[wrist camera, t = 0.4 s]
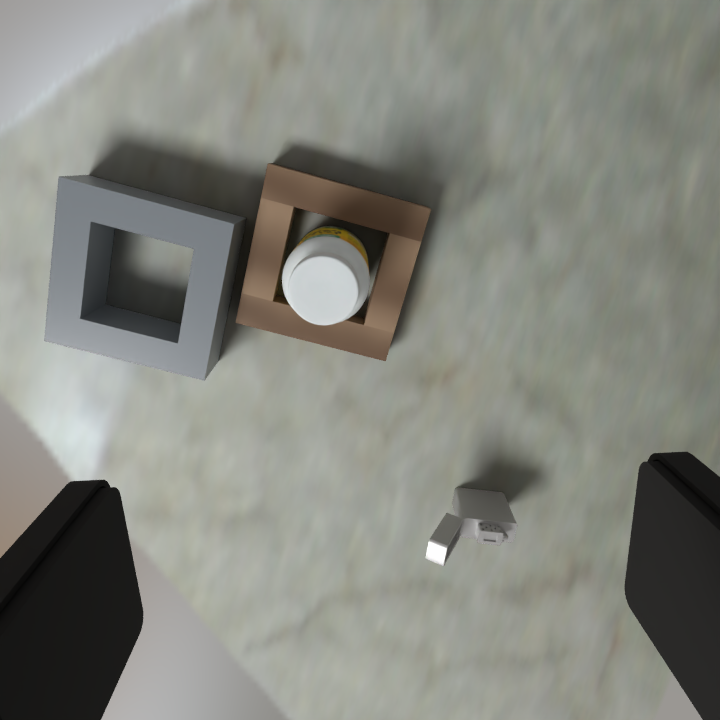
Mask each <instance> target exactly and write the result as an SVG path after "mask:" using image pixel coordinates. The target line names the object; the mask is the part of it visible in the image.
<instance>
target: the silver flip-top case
mask: <svg viewBox="0 0 720 720" xmlns="http://www.w3.org/2000/svg"><path fill="white" fill-rule="evenodd" d="M452 505H453V509H454V513H455V516H454V515H451V514H449V513H446V515H445V516H444V518H443V519H442V521H441V522H440V524H439V526H438V527H437V529H436V530H435V532H434V533H433V535H432V536H431V538H430V540H429V544H428V549H427V554H426V559H427V560H430V561H432V562H435V563H437V564H440V565H442V566H444V565H445V563H446V561H447V559H448V558H449V556H450V554H451V552H452V550H453V549H454V547H455V545H456V543H457V542H458V540H459V538H460V536H461V537H464V538H473V539H477V542H478V543H482V544H491V545H501V543H502V542H510V543H511V542H513V541H514V537H515V533H516V529H517V523H516V521H515V519H514V516H513V514H512V511H511V509H510V507H509V504H508V502H507V499H506V497H505V495H504V493H503V492H496V491H487V490H478V489H469V488H460V487H457V488H455V491H454V496H453V501H452Z"/></svg>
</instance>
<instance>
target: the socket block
mask: <svg viewBox="0 0 720 720" xmlns="http://www.w3.org/2000/svg"><path fill="white" fill-rule="evenodd" d="M245 223H246V218H245V217H241V216H237V215H234V214H230V213H226V212H223V211H219V210H215V209H212V208H208V207H204V206H201V205H197V204H193V203H190V202H186V201H182V200H179V199H175V198H171V197H167V196H164V195H160V194H156V193H153V192H149V191H145V190H142V189H138V188H134V187H131V186H127V185H123V184H120V183H116V182H112V181H109V180H105V179H101V178H98V177H94V176H90V175H79V176H61V177H59V179H58V191H57V202H56V213H55V225H54V236H53V247H52V259H51V270H50V281H49V293H48V304H47V315H46V327H45V338H44V341H46V342H50V343H54V344H58V345H62V346H66V347H70V348H74V349H79V350H83V351H87V352H91V353H95V354H99V355H103V356H107V357H111V358H115V359H119V360H123V361H127V362H131V363H135V364H139V365H143V366H147V367H151V368H155V369H159V370H164V371H168V372H172V373H176V374H180V375H184V376H188V377H192V378H196V379H200V380H205V379H206V378H207V376H208V375H209V373H210V372H211V371H212V369H213V368H214V367H215V365H216V364H217V362H218V360H219V355H220V350H221V345H222V340H223V335H224V330H225V325H226V320H227V314H228V309H229V304H230V299H231V294H232V289H233V284H234V279H235V274H236V269H237V264H238V259H239V254H240V248H241V243H242V238H243V233H244V228H245ZM115 228H117V229H121V230H125V231H129V232H133V233H136V234H140V235H144V236H148V237H151V238H155V239H159V240H163V241H166V242H170V243H174V244H178V245H182V246H185V247H189V248H193V249H194V252H193V258H192V263H191V269H190V275H189V281H188V287H187V293H186V299H185V305H184V310H183V316H182V322H181V324H180V323H176V322H172V321H168V320H164V319H160V318H156V317H152V316H148V315H144V314H141V313H137V312H133V311H129V310H125V309H121V308H117V307H113V306H109V305H106V298H107V290H108V282H109V273H110V265H111V257H112V249H113V241H114V233H115Z"/></svg>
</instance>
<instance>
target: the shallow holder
mask: <svg viewBox="0 0 720 720" xmlns="http://www.w3.org/2000/svg"><path fill="white" fill-rule="evenodd" d="M296 208H300V209H304V210H307V211H311V212H314V213H318V214H322V215H325V216H329V217H333V218H336V219H340V220H344V221H347V222H351V223H354V224H358V225H362V226H365V227H369V228H373V229H376V230H380V231H383V232H387V233H388V234H387V237H386V241H385V245H384V248H383V252H382V255H381V259H380V262H379V266H378V270H377V273H376V277H375V280H374V284H373V287H372V291H371V295H370V298H369V302H368V305H367V309H366V312H365V316H364V318H363V317H359V316H356V315H353V316H351V317H350V318H348V319H346V320H344V321H342V322H339V323H335V324H332V325H317V324H313V323H310V322H308V321H306V320H304V319H303V318H302V317H300V316H299V315H298V314H297V313H296V312H295V311H294V310H293V308H292V307H291V306H290V304H289V303H288V301H287V299H286V297H283V296H279V295H277V291H278V287H279V282H280V278H281V274H282V269H283V265H284V260H285V256H286V251H287V247H288V242H289V238H290V233H291V229H292V224H293V220H294V216H295V211H296ZM430 212H431V209H430V208H429V207H426V206H423V205H419V204H416V203H412V202H409V201H405V200H401V199H398V198H394V197H391V196H387V195H384V194H380V193H376V192H373V191H369V190H366V189H362V188H359V187H355V186H352V185H348V184H344V183H341V182H337V181H334V180H330V179H327V178H323V177H319V176H316V175H312V174H309V173H305V172H302V171H298V170H294V169H291V168H287V167H284V166H280V165H277V164H273V163H269V164H268V165H267V170H266V175H265V180H264V185H263V190H262V195H261V200H260V205H259V210H258V215H257V219H256V224H255V229H254V234H253V239H252V244H251V249H250V254H249V259H248V264H247V269H246V274H245V279H244V284H243V288H242V293H241V298H240V303H239V308H238V313H237V318H236V323H239V324H242V325H246V326H250V327H254V328H258V329H262V330H266V331H270V332H274V333H278V334H281V335H285V336H289V337H293V338H297V339H301V340H305V341H309V342H313V343H317V344H320V345H324V346H328V347H332V348H336V349H340V350H344V351H348V352H352V353H356V354H359V355H363V356H367V357H371V358H375V359H379V360H383V361H386V358H387V355H388V351H389V348H390V345H391V341H392V338H393V335H394V331H395V328H396V325H397V321H398V318H399V315H400V311H401V308H402V305H403V301H404V298H405V295H406V291H407V288H408V285H409V281H410V278H411V275H412V271H413V268H414V265H415V261H416V258H417V255H418V251H419V248H420V245H421V241H422V238H423V235H424V231H425V228H426V225H427V221H428V218H429V215H430Z"/></svg>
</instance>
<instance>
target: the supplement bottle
mask: <svg viewBox="0 0 720 720" xmlns="http://www.w3.org/2000/svg"><path fill="white" fill-rule="evenodd" d="M282 286H283V291H284V294H285V297H286V299H287V301H288V303H289V304H290V306H291V307H292V308H293V310H294V311H295V312H296V313H297V314H298V315H299V316H300V317H302V318H303V319H304V320H306V321H308V322H310V323H313V324H317V325H332V324H335V323H339V322H342V321H344V320H346V319H348V318H350V317H351V316H353V315H354V314H355V313H356V312H357V311H358V310H359V309H360V308H361V306H362V305H363V303H364V302H365V300H366V298H367V295H368V291H369V286H370V274H369V265H368V256H367V252H366V250H365V248H364V246H363V244H362V242H361V241H360V240H359V239H358V237H357V236H355V235H354V234H353V233H351V232H350V231H348V230H346V229H343V228H340V227H336V226H324V227H320V228H317V229H315V230H313V231H311V232H309V233H308V234H307V235H306V236H305V237H304V238H303V239H302V240H301V241H300V242H299V243H298V245H297V246H296V247H295V249H294V250H293V251H292V253H291V254H290V255H289V257H288V259H287V261H286V263H285V266H284V269H283V274H282Z"/></svg>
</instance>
